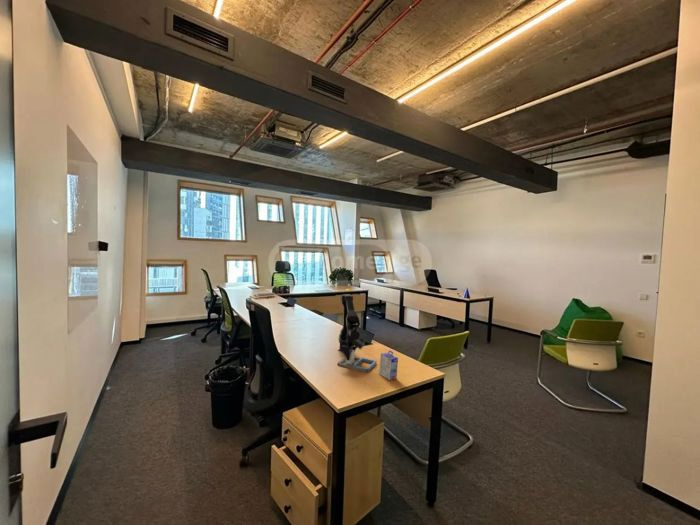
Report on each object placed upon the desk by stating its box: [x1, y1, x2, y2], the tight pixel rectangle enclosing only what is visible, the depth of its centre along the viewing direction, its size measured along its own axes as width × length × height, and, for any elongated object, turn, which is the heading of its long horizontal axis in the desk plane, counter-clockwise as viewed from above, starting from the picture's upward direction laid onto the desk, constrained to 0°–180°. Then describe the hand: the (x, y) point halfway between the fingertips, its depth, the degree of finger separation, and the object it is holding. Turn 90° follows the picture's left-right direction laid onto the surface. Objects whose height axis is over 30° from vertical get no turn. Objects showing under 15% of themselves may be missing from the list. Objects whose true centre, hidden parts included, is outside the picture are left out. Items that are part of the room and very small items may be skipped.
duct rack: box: [337, 356, 378, 373], centre depth 182 cm, size 20×15×2 cm
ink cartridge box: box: [378, 349, 399, 381], centre depth 167 cm, size 10×6×14 cm, turn 33°
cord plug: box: [345, 350, 356, 365], centre depth 184 cm, size 4×4×8 cm
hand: (350, 358), depth 184 cm, fingers open, 6 cm apart
